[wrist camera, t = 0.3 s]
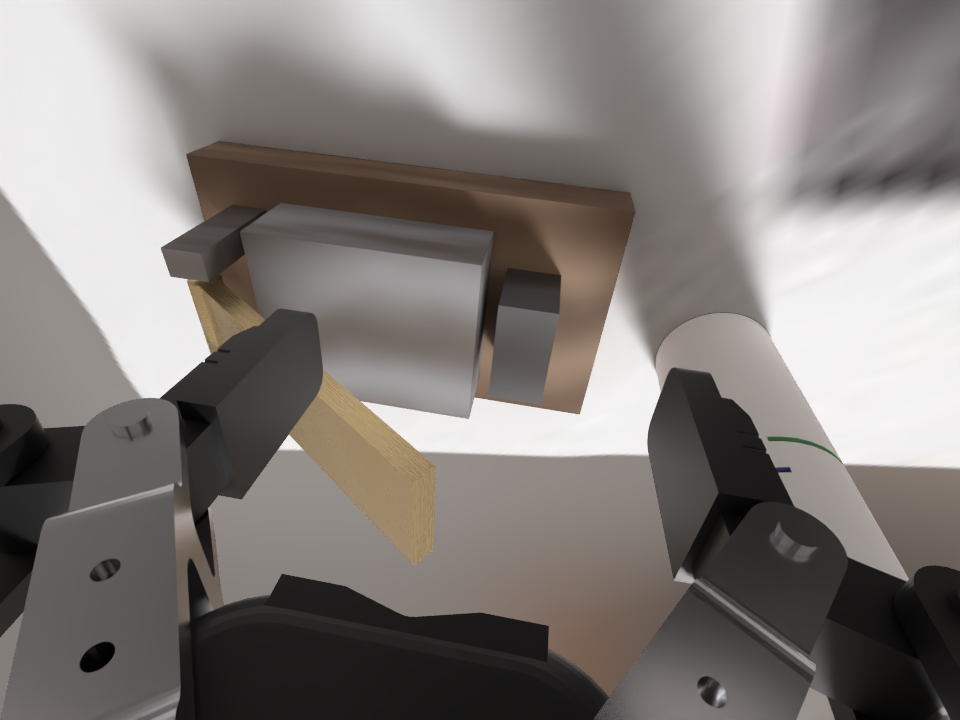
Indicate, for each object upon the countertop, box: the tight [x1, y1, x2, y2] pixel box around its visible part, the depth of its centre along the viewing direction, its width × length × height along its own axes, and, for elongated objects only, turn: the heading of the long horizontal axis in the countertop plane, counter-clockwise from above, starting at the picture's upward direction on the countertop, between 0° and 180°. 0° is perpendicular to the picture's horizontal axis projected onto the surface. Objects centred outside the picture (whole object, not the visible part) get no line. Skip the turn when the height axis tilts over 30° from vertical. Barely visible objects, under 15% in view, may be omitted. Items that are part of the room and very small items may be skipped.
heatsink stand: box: [161, 141, 635, 419], centre depth 28 cm, size 14×24×9 cm, turn 86°
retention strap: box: [187, 274, 436, 566], centre depth 22 cm, size 5×18×2 cm
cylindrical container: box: [655, 313, 909, 720], centre depth 22 cm, size 7×7×25 cm
